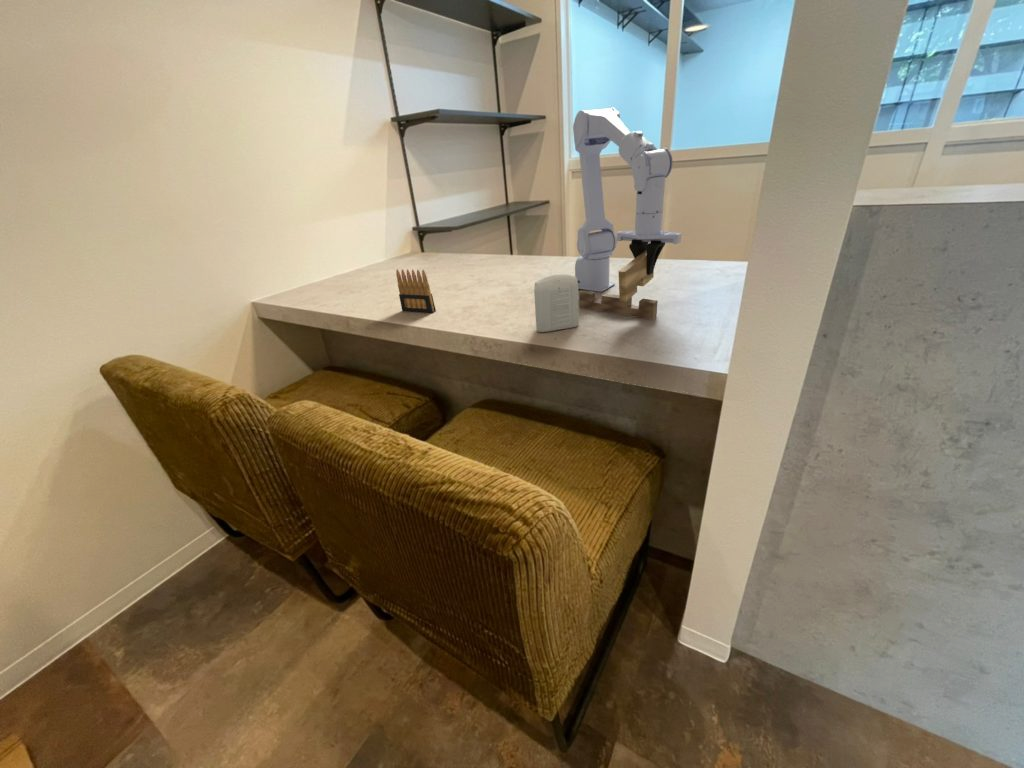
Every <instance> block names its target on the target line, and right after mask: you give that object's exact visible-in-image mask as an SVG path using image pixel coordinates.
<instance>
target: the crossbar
mask: <svg viewBox="0 0 1024 768" xmlns="http://www.w3.org/2000/svg"><path fill="white" fill-rule="evenodd" d="M654 275H655V273H654V271H653V273H652V274H650V275H647V251H646V250H645V251H644V252H642V253H641V254H640V255H639V256H637V257H636V258H635V259H634V258H633V259H632V260H631V261H630V262H628V263H627V264H626V265H625V266H623V267H622V268H621V269H619V270H618V292H619V293H618V295H619V299H620V301H624V302H626V301H628V300H629V299H630V298H631V297H632V298H633V296H634V295H636V294H637V293H638V286H639V287H644V286H646V285H647V284H648V283H649V282H650V281H651V280H653V278H654Z"/></svg>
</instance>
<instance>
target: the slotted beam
mask: <svg viewBox="0 0 1024 768" xmlns="http://www.w3.org/2000/svg"><path fill="white" fill-rule="evenodd" d="M596 292H597V291H591V290H584V289H582V290H581V291H580V292H579V291H578V308H582V309H585V310H586V309H587V310H592V311H599V312H605V313H611V314H617V315H622V316H629V317H634V318H640V319H645V320H651V321H653V320H654V319H656V318H657V315H658V314H657V313H658V302H659V301H658V300H657V299H656V300H655V299H649V298H642V299H640V300H638V305H633V304H632V303H633V296H632V297H631V298H630V299H629V300H628V301H626V302H624V301H620V299H619V294H614V293H603V294H602V295H600V299H596Z"/></svg>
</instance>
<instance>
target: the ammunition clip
mask: <svg viewBox="0 0 1024 768" xmlns="http://www.w3.org/2000/svg"><path fill="white" fill-rule="evenodd" d="M395 271H396V281H397V288H398V293H399V294H398V297H399V302H400V306H401V311H402V312H407V313H419V312H420V313H421V314H422V313H423V314H433V313H435V312H436V311H437V310H436V306H435V301H434V297H433V294H432V291H431V287H430V284H429V280H428V277H427V273H426V272H425V270H424V269H422V272H420V270H419V269H417V270H416V272H415V270H414V269H412V270H411V272H410V270H409V269H406V271H404V269H401V271H399V269H396V270H395ZM400 272H401V273H400ZM405 272H406V273H405Z"/></svg>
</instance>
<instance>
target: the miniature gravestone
mask: <svg viewBox="0 0 1024 768" xmlns="http://www.w3.org/2000/svg"><path fill="white" fill-rule="evenodd" d="M533 288H534V289H533V291H534V293H533V294H534V295H533V296H534V310H535V312H534V313H535V323H536V324H535V329H536V331H537V332H538V333H545V332H546V333H547V332H552V331H559V330H564V329H570V328H575V327H578V326H579V320H580V319H579V289H578V281H577V278H576V277H575V275H571V274H553V275H549V276H546V277H543V278H540V279H539V280H537V281H535V283H534V287H533Z"/></svg>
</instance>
